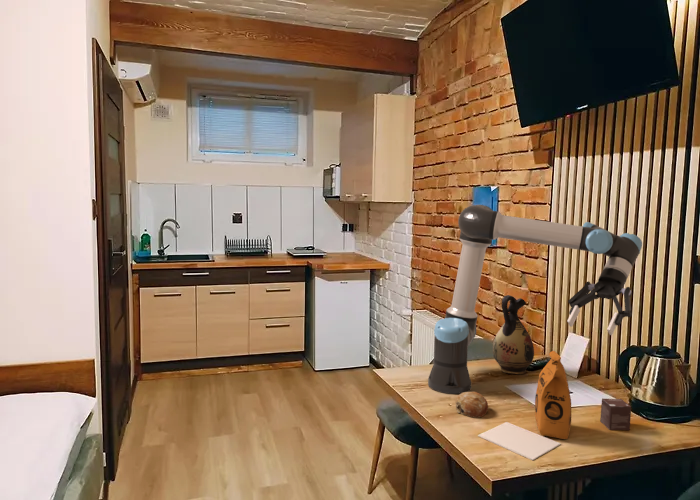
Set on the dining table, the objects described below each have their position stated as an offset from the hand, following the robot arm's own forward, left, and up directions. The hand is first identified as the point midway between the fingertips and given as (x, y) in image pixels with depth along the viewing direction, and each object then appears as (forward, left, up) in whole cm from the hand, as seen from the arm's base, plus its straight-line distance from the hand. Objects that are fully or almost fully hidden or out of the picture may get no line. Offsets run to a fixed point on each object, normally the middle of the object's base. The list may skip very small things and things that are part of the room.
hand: (588, 328), depth 157 cm
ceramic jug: (-37, +17, -28) cm, 49 cm away
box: (+10, -1, -28) cm, 29 cm away
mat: (-3, -32, -27) cm, 42 cm away
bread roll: (-23, -26, -28) cm, 44 cm away
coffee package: (0, -19, -27) cm, 33 cm away
